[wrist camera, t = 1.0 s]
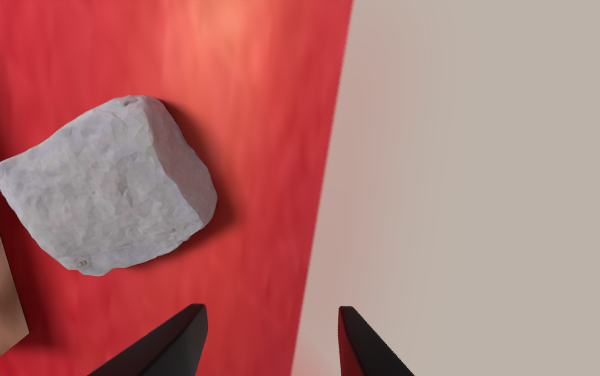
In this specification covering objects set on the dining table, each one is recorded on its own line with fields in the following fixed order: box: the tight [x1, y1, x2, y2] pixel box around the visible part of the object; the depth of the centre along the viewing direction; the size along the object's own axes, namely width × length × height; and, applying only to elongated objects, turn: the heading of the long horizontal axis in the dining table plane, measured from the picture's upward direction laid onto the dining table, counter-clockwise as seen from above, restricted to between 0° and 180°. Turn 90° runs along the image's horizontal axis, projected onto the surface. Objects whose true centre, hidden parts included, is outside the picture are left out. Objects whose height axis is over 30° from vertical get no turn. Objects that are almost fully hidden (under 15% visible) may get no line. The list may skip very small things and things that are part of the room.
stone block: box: [0, 95, 218, 276], centre depth 19 cm, size 12×5×10 cm
